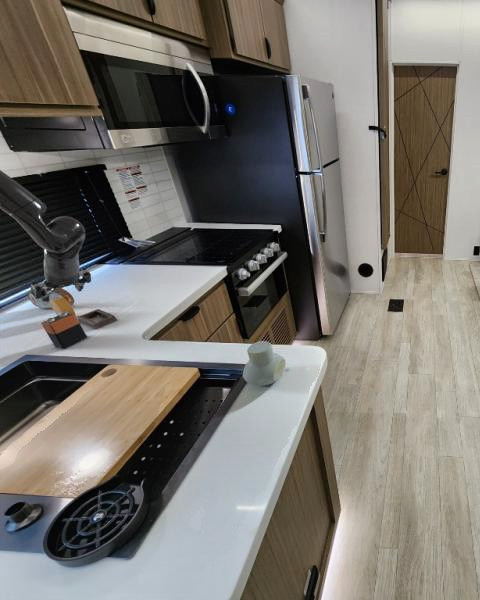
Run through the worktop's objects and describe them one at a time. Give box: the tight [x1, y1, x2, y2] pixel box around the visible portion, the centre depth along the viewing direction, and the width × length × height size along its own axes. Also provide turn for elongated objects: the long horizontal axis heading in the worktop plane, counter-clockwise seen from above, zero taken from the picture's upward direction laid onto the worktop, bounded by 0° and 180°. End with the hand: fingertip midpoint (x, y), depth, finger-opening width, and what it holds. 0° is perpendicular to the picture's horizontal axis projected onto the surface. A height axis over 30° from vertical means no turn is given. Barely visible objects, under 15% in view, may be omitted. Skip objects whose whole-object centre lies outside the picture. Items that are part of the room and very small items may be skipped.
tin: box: [26, 288, 75, 310], centre depth 125 cm, size 15×3×8 cm, turn 88°
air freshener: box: [242, 340, 286, 387], centre depth 86 cm, size 11×8×10 cm
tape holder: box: [76, 308, 118, 330], centre depth 117 cm, size 6×12×2 cm, turn 63°
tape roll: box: [50, 297, 77, 317], centre depth 117 cm, size 3×8×8 cm, turn 63°
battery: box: [40, 311, 88, 350], centre depth 103 cm, size 4×7×10 cm, turn 163°
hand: (62, 294), depth 110 cm, fingers open, 8 cm apart
